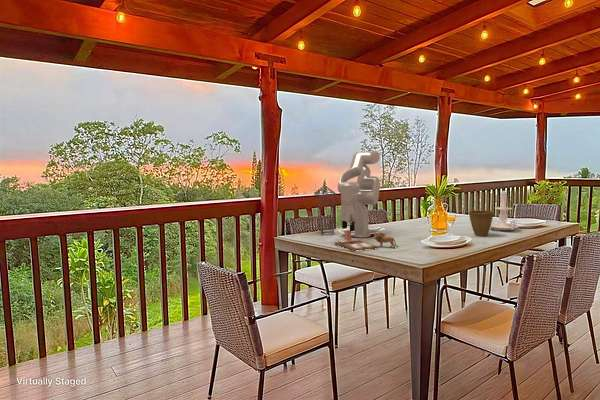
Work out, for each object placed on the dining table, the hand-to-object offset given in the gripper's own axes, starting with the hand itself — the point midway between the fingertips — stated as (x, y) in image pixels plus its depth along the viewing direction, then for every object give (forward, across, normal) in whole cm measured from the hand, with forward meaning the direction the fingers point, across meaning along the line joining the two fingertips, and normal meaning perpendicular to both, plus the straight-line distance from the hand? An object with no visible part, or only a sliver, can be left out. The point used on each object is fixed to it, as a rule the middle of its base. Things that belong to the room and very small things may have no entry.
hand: (348, 229), depth 257 cm
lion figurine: (+9, +21, +13) cm, 26 cm away
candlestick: (+13, +18, +116) cm, 118 cm away
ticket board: (+9, +10, -1) cm, 13 cm away
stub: (+7, +1, -1) cm, 7 cm away
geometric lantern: (+10, -38, +3) cm, 40 cm away
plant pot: (+12, +23, +88) cm, 91 cm away
